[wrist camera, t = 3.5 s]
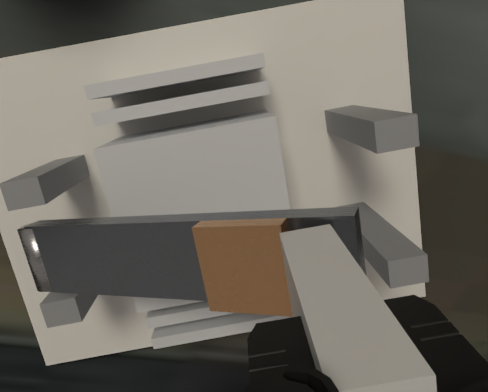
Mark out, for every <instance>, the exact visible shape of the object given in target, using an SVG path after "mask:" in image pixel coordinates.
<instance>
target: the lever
mask: <svg viewBox="0 0 488 392" xmlns="http://www.w3.org/2000/svg"><path fill="white" fill-rule="evenodd" d="M327 224H330V225H331V226H332V228H333V229H334V230H335V232H336V233H337V235H338V236H339V238H340V239H341V240H342V242H343V243H344V245H345V246H346V248H347V249H348V250H349V252H350V253H351V255H352V256H353V258H354V259H355V260H356V262H357V263H358V265H359V266H360V268H361V269H362V270H363V272H364V273H365V275H366V267H365V259H364V250H363V241H362V232H361V223H360V214H359V206H356V207H333V208H310V209H287V210H264V211H240V212H217V213H194V214H171V215H148V216H125V217H102V218H78V219H55V220H39V221H37V222H34V223H30V224H27V225H24V226H22V227H20V228H18V229H17V231H18V234H19V237H20V240H21V243H22V246H23V249H24V252H25V255H26V258H27V261H28V264H29V267H30V270H31V273H32V276H33V279H34V282H35V285H36V288H37V291H39V292H59V293H77V294H94V295H111V296H128V297H146V298H163V299H180V300H197V301H208V304H209V309H210V311H218V312H232V313H246V314H261V315H275V316H290V317H293V314H292V308H291V302H290V296H289V290H288V284H287V278H286V272H285V266H284V260H283V254H282V248H281V242H280V236H279V233H282V232H287V231H293V230H299V229H304V228H310V227H316V226H321V225H327Z"/></svg>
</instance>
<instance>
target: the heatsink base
mask: <svg viewBox="0 0 488 392" xmlns="http://www.w3.org/2000/svg"><path fill="white" fill-rule="evenodd" d="M418 146H419V132H418V118H417V114H414V113H412V107H411V94H410V80H409V67H408V54H407V40H406V27H405V14H404V0H314V1H308V2H303V3H298V4H292V5H287V6H281V7H276V8H271V9H265V10H260V11H254V12H249V13H243V14H238V15H233V16H227V17H222V18H216V19H211V20H205V21H200V22H195V23H189V24H184V25H178V26H173V27H168V28H162V29H157V30H151V31H146V32H140V33H135V34H130V35H124V36H119V37H113V38H108V39H102V40H97V41H92V42H86V43H81V44H75V45H70V46H64V47H59V48H54V49H48V50H43V51H37V52H32V53H27V54H21V55H16V56H10V57H5V58H0V232H1V235H2V238H3V241H4V244H5V247H6V250H7V253H8V256H9V259H10V262H11V264H12V267H13V270H14V273H15V276H16V279H17V282H18V285H19V288H20V291H21V293H22V296H23V299H24V302H25V305H26V308H27V311H28V314H29V317H30V320H31V322H32V325H33V328H34V331H35V334H36V337H37V340H38V343H39V346H40V349H41V352H42V354H43V357H44V360H45V363H46V366H47V365H52V364H58V363H63V362H69V361H74V360H80V359H85V358H91V357H96V356H102V355H107V354H113V353H118V352H124V351H129V350H135V349H140V348H145V347H151V346H153V348H154V349H158V348H163V347H169V346H174V345H180V344H185V343H191V342H196V341H201V340H207V339H212V338H218V337H223V336H229V335H234V334H240V333H245V332H251V331H252V330H253V328H254V326H255V324H256V323H262V322H268V321H274V320H280V319H285V318H291V317H290V316H275V315H261V314H246V313H232V312H218V311H210V309H209V304H208V301H197V300H180V299H163V298H146V297H128V296H111V295H94V294H77V293H59V292H39V291H37V288H36V285H35V282H34V279H33V276H32V273H31V270H30V267H29V264H28V261H27V258H26V255H25V252H24V249H23V246H22V243H21V240H20V237H19V234H18V231H17V229H18V228H20V227H22V226H24V225H27V224H30V223H34V222H37V221H39V220H55V219H78V218H102V217H125V216H148V215H171V214H194V213H217V212H240V211H264V210H287V209H310V208H333V207H356V206H359V214H360V223H361V232H362V241H363V250H364V259H365V267H366V276H367V278H368V279H369V280H370V282H371V283H372V285H373V286H374V288H375V289H376V290H377V292H378V293H379V295H380V296H381V298H382V299H383V300H386V299H392V298H397V297H403V296H409V295H416V296H418V297H424V296H426V294H425V282H429V272H428V258H427V254H426V253H425V252H424V251H422V240H421V227H420V214H419V200H418V187H417V174H416V160H415V147H418Z"/></svg>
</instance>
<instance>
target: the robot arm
mask: <svg viewBox="0 0 488 392" xmlns="http://www.w3.org/2000/svg"><path fill="white" fill-rule="evenodd" d="M279 236H280V242H281V248H282V254H283V260H284V266H285V272H286V278H287V284H288V290H289V296H290V302H291V308H292V314H293V317H291V318H285V319H280V320H274V321H268V322H262V323H256V324H255V326H254V328H253V330H252V332H251V333H250V335H249V337H248V356H249V371H250V373H249V375H250V383H249V384H248V385H247V386H246V388H245V389H244V390H243V392H488V363H487V362H486V360H485V359H484V358H483V357H482V356H481V355H480V354H479V353H478V352H477V351H476V350H475V348H474V347H473V346H472V345H471V344H470V343H469V342H468V341H467V340H466V339H465V338H464V337H463V335H460V334H459V331H458V330H457V329H456V328H455V327H454V326H453V325H452V323H451V322H448V319H447V318H446V317H445V316H444V315H443V314H442V313H441V311H440V310H439V309H438V308H437V307H436V306H435V305H434V304H432V303H430V302H428V301H426V300H424V299H422V298H420V297H418V296H416V295H409V296H403V297H397V298H392V299H386V300H383V299H382V298H381V296H380V295H379V293H378V292H377V290H376V289H375V288H374V286H373V285H372V283H371V282H370V280H369V279H368V278H367V276H366V275H365V273H364V272H363V270H362V269H361V268H360V266H359V265H358V263H357V262H356V260H355V259H354V258H353V256H352V255H351V253H350V252H349V250H348V249H347V248H346V246H345V245H344V243H343V242H342V240H341V239H340V238H339V236H338V235H337V233H336V232H335V230H334V229H333V228H332V226H331V225H330V224H327V225H321V226H316V227H310V228H304V229H299V230H293V231H287V232H282V233H279Z"/></svg>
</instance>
